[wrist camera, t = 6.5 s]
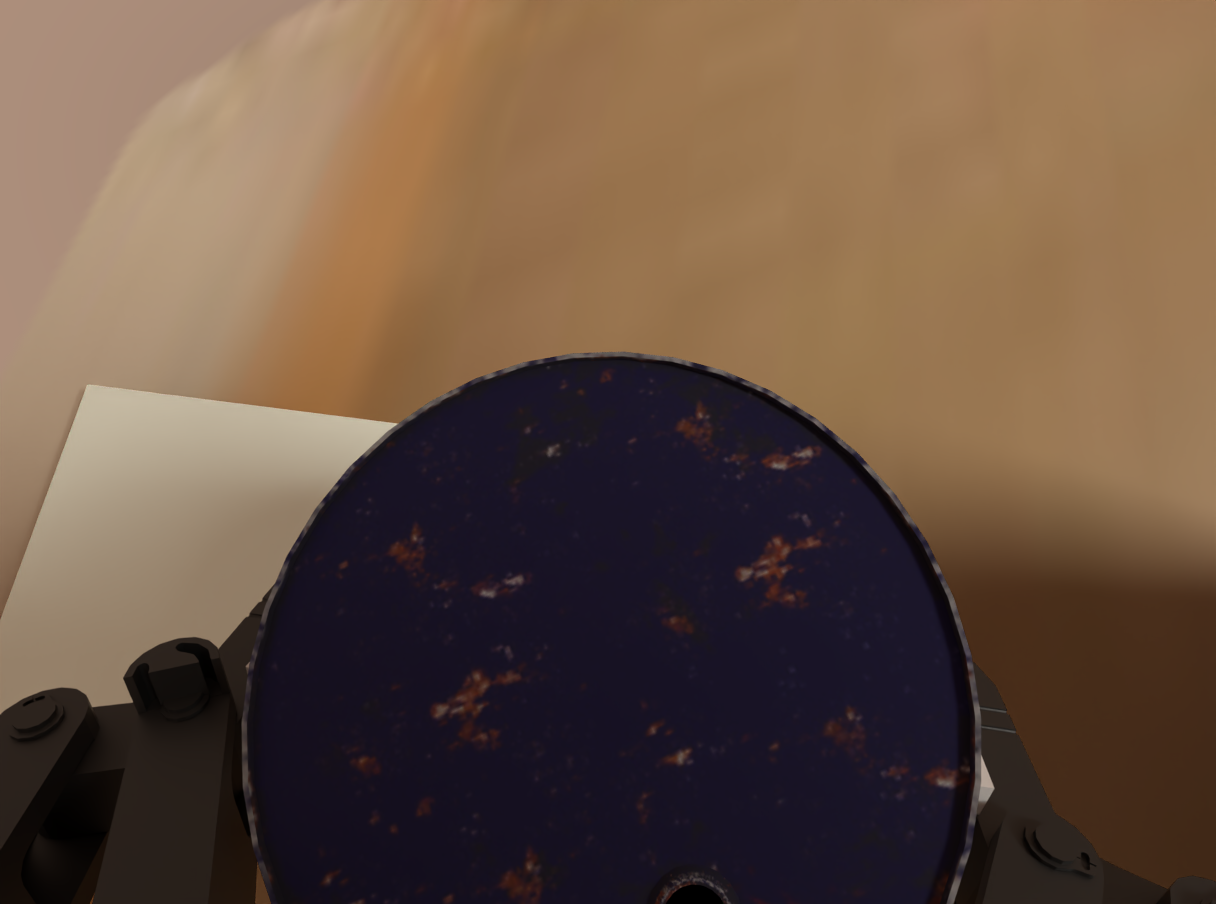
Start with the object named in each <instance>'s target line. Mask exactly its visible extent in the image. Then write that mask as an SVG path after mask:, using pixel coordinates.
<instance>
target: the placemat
mask: <svg viewBox="0 0 1216 904" xmlns="http://www.w3.org/2000/svg"><path fill="white" fill-rule="evenodd" d="M396 425H397V424H396V423H388V422H380V421H373V420H365V419H357V418H349V417H341V416H333V415H325V414H318V413H310V412H302V411H294V410H286V409H278V408H270V407H263V406H255V405H247V404H239V403H231V402H223V401H215V400H207V399H200V398H192V397H184V396H176V395H168V394H160V393H152V392H145V391H137V390H129V389H121V388H113V387H105V386H97V385H89V384H87V387H86V390H85V392H84V395H83V398H82V401H81V403H80V406H79V409H78V411H77V414H76V417H75V419H74V422H73V425H72V427H71V430H70V433H69V436H68V438H67V441H66V444H65V446H64V449H63V452H62V454H61V457H60V460H59V463H58V465H57V468H56V471H55V473H54V476H53V479H52V481H51V484H50V487H49V490H48V492H47V495H46V498H45V500H44V503H43V506H42V508H41V511H40V514H39V516H38V519H37V522H36V525H35V527H34V530H33V533H32V535H31V538H30V541H29V543H28V546H27V549H26V552H25V554H24V557H23V560H22V562H21V565H20V568H19V570H18V573H17V576H16V579H15V581H14V584H13V587H12V589H11V592H10V595H9V597H8V600H7V603H6V606H5V608H4V611H3V614H2V616H1V619H0V714H1V713H2V712H3V711H4V710H6V709H7V708H9V707H11V706H12V705H14V704H15V703H17V702H18V701H20V700H22V699H23V698H26V697H28V696H31V695H33V694H36V693H38V692H41V691H44V690H50V689H55V688H60V687H63V688H74V689H78V690H79V691H81V692H83V693H84V694H86V695H87V697H88V699H89V702H90V704H91V706H92V707H98V706H107V705H115V704H124V703H133V701H132V698H131V696H130V694H129V691H128V689H127V687H126V684H125V682H124V680H123V677H124V675H125V673H126V672H127V670H128V668H129V666H130V665H131V664H132V663H133V662H134V661H135V660H136V659H137V658H139V657H140V656H141V655H142V654H143V653H145V652H146V651H148V650H150V649H152V648H154V647H155V646H157V645H159V644H161V643H165V642H168V641H171V640H174V639H177V638H188V637H198V638H202V639H206V640H209V641H211V642H212V643H213V644H214V645H215V646H216V647H217V648H218V649H219V647H220V646H221V645H222V644H223V643H224V642H225V641H226V639H227V638H228V637H229V636H230V635H231V634H232V632H233V631H234V630H235V629H236V628H237V627H238V625H239V624H240V623H241V622H242V621H243V620H244V619H245V617H248V616H249V613H250V612H251V610H252V609H253V608H254V607H255V606H256V605H257V604H258V602H261V601H262V598H263V597H264V595H265V594H266V593H267V592H268V591H269V590H270V588H271V587H272V586H273V585H274V584H275V582H276V580H277V578H278V575H279V573H280V571H281V568H282V566H283V564H284V561H285V559H286V557H287V555H288V553H289V551H290V550H291V548H292V546H293V545H294V543H295V541H296V540H297V538H298V537H299V535H300V533H301V532H302V530H303V528H304V527H305V525H306V523H307V522H308V520H309V518H310V517H311V515H312V513H313V512H314V510H315V508H316V507H317V506H318V505H319V503H320V502H321V501H322V500H323V499H324V497H325V496H326V495H327V494H328V492H329V491H330V490H331V489H332V487H333V486H334V485H335V484H336V483H337V481H338V480H339V479H340V478H341V476H342V475H343V474H344V473H345V471H346V470H347V469H348V468H349V467H350V466H351V465H352V464H353V463H354V462H355V461H356V460H357V459H358V458H359V457H360V456H361V455H363V454H364V453H365V452H366V451H367V450H368V449H369V448H370V447H371V446H372V445H373V444H374V443H375V442H377V441H378V440H379V439H380V438H381V437H382V436H383V435H384V434H385V433H386V432H387V431H388V430H390V429H391V428H393V427H394V426H396Z"/></svg>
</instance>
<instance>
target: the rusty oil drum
mask: <svg viewBox="0 0 1216 904" xmlns="http://www.w3.org/2000/svg"><path fill="white" fill-rule="evenodd" d="M242 772H243V791H244V797H245V803H246V809H247V815H248V820H249V826H250V832H251V838H252V844H253V849H254V852H255V856H256V859H257V862H258V865H259V868H260V871H261V874H262V877H263V880H264V883H265V886H266V889H267V892H268V895H269V898H270V901H271V904H953V903H954V900H955V897H956V894H957V891H958V888H959V885H960V881H961V878H962V875H963V872H964V869H965V866H966V863H967V860H968V856H969V853H970V850H971V847H972V840H973V833H974V827H975V820H976V814H977V807H978V801H979V794H980V787H981V714H980V707H979V701H978V694H977V688H976V681H975V675H974V668H973V662H972V656H971V652H970V649H969V646H968V642H967V639H966V636H965V633H964V629H963V626H962V623H961V620H960V617H959V613H958V610H957V607H956V604H955V600H954V597H953V595H952V593H951V591H950V589H949V586H948V584H947V582H946V580H945V578H944V576H943V574H942V572H941V570H940V568H939V566H938V563H937V561H936V559H935V557H934V555H933V553H932V551H931V549H930V547H929V545H928V543H927V541H926V540H925V538H924V537H923V535H922V534H921V532H920V531H919V529H918V528H917V526H916V525H915V523H914V522H913V520H912V519H911V517H910V516H909V514H908V513H907V511H906V510H905V508H904V507H903V505H902V504H901V502H900V501H899V499H898V498H897V496H896V495H895V494H894V493H893V491H892V490H891V489H890V488H889V487H888V486H887V485H886V484H885V483H884V482H883V480H882V479H881V478H880V477H879V476H878V475H877V474H876V473H875V472H874V470H873V469H872V468H871V467H870V466H869V465H868V464H867V463H866V462H865V461H864V459H863V458H862V457H861V456H860V455H859V454H858V453H857V452H856V451H855V450H854V449H852V448H851V447H850V446H849V445H847V444H846V443H845V442H844V441H843V440H841V439H840V438H839V437H838V436H837V435H835V434H834V433H833V432H832V431H831V430H829V429H828V428H827V427H826V426H825V425H823V424H822V423H821V422H820V421H818V420H817V419H816V418H815V417H813V416H811V415H810V414H808V413H806V412H805V411H803V410H801V409H800V408H798V407H796V406H795V405H793V404H792V403H790V402H788V401H787V400H785V399H783V398H782V397H780V396H778V395H777V394H775V393H773V392H772V391H770V390H768V389H765V388H763V387H761V386H758V385H756V384H754V383H751V382H749V381H747V380H744V379H742V378H740V377H737V376H735V375H732V374H730V373H728V372H725V371H723V370H720V369H716V368H712V367H708V366H704V365H701V364H697V363H693V362H689V361H685V360H682V359H678V358H674V357H666V356H657V355H648V354H639V353H630V352H600V353H573V354H567V355H562V356H556V357H551V358H545V359H539V360H534V361H528V362H523V363H520V364H517V365H514V366H511V367H508V368H505V369H502V370H499V371H496V372H493V373H490V374H487V375H484V376H481V377H478V378H476V379H474V380H472V381H470V382H468V383H466V384H464V385H462V386H460V387H458V388H456V389H454V390H452V391H450V392H448V393H446V394H444V395H442V396H440V397H438V398H436V399H434V400H432V401H430V402H429V403H427V404H426V405H424V406H423V407H421V408H420V409H419V410H417V411H416V412H414V413H413V414H411V415H410V416H409V417H407V418H406V419H404V420H403V421H401V422H400V423H398V424H397V425H396V426H394V427H393V428H391V429H390V430H388V431H387V432H386V433H385V434H384V435H383V436H382V437H381V438H380V439H379V440H378V441H377V442H375V443H374V444H373V445H372V446H371V447H370V448H369V449H368V450H367V451H366V452H365V453H364V454H363V455H361V456H360V457H359V458H358V459H357V460H356V461H355V462H354V463H353V464H352V465H351V466H350V467H349V468H348V469H347V470H346V471H345V473H344V474H343V475H342V476H341V478H340V479H339V480H338V481H337V483H336V484H335V485H334V486H333V487H332V489H331V490H330V491H329V492H328V494H327V495H326V496H325V497H324V499H323V500H322V501H321V502H320V503H319V505H318V506H317V507H316V508H315V510H314V512H313V513H312V515H311V517H310V518H309V520H308V522H307V523H306V525H305V527H304V528H303V530H302V532H301V533H300V535H299V537H298V538H297V540H296V541H295V543H294V545H293V546H292V548H291V550H290V551H289V553H288V555H287V557H286V559H285V561H284V564H283V566H282V568H281V571H280V573H279V575H278V578H277V580H276V582H275V585H274V587H273V589H272V592H271V594H270V596H269V599H268V601H267V603H266V606H265V608H264V611H263V615H262V619H261V622H260V626H259V630H258V634H257V637H256V641H255V645H254V648H253V652H252V656H251V659H250V663H249V669H248V677H247V685H246V693H245V701H244V709H243V717H242Z"/></svg>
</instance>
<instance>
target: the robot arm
mask: <svg viewBox="0 0 1216 904" xmlns="http://www.w3.org/2000/svg"><path fill="white" fill-rule="evenodd" d="M274 585H275V584H274ZM274 585H273V586H272V587H271V588H270V590H269V591H268V592H267V593H266V594H265V595H264V597H263V598H262V601H261V602H258V604H257V605H256V606H255V607H254V608H253V609H252V610H251V612H250V613H249V616H248V617H245V619H244V620H243V621H242V622H241V623H240V624H239V625H238V627H237V628H236V629H235V630H234V631H233V632H232V634H231V635H230V636H229V637H228V638H227V639H226V641H225V642H224V643H223V644H222V645H221V646H220V647H219V649H218V648H217V647H216V646H215V645H214V644H213V643H212V642H211V641H209V640H206V639H202V638H198V637H188V638H177V639H174V640H171V641H168V642H165V643H161V644H159V645H157V646H155V647H154V648H152V649H150V650H148V651H146V652H145V653H143V654H142V655H141V656H140V657H139V658H137V659H136V660H135V661H134V662H133V663H132V664H131V665H130V666H129V668H128V670H127V672H126V673H125V675H124V677H123V680H124V682H125V684H126V687H127V689H128V691H129V694H130V696H131V698H132V701H133V703H124V704H115V705H107V706H98V707H92V706H91V704H90V702H89V699H88V697H87V695H86V694H84V693H83V692H81V691H79V690H78V689H74V688H63V687H60V688H55V689H50V690H44V691H41V692H38V693H36V694H33V695H31V696H28V697H26V698H23V699H22V700H20V701H18V702H17V703H15V704H14V705H12V706H11V707H9V708H7V709H6V710H4V711H3V712H2V713H1V714H0V904H90V901H91V899H92V897H93V895H94V893H95V895H94V899H93V903H92V904H255V893H256V874H257V859H256V856H255V852H254V849H253V844H252V838H251V832H250V826H249V820H248V815H247V809H246V803H245V797H244V791H243V772H242V717H243V709H244V701H245V693H246V685H247V677H248V669H249V663H250V659H251V656H252V652H253V648H254V645H255V641H256V637H257V634H258V630H259V626H260V622H261V619H262V615H263V611H264V608H265V606H266V603H267V601H268V599H269V596H270V594H271V592H272V589H273V587H274ZM973 668H974V675H975V681H976V688H977V694H978V701H979V707H980V714H981V787H980V794H979V801H978V807H977V814H976V820H975V827H974V833H973V840H972V847H971V850H970V853H969V856H968V860H967V863H966V866H965V869H964V872H963V875H962V878H961V881H960V885H959V888H958V891H957V894H956V897H955V900H954V903H953V904H1216V882H1215V881H1213V880H1209V879H1204V878H1200V877H1196V876H1188V877H1183V878H1178V879H1177V880H1176V881H1175V882H1174V883H1173V884H1172V885H1171V886H1170V888H1169V889H1166V888H1163V887H1161V886H1159V885H1157V884H1154V883H1152V882H1150V881H1148V880H1145V879H1143V878H1141V877H1139V876H1136V875H1134V874H1132V873H1130V872H1127V871H1125V870H1123V869H1121V868H1118V867H1116V866H1114V865H1112V864H1111V863H1109V862H1107V861H1105V860H1103V859H1101V858H1099V857H1098V855H1097V853H1096V851H1095V850H1094V848H1093V846H1092V844H1091V843H1090V842H1089V841H1088V840H1087V839H1086V838H1085V837H1084V836H1083V835H1082V834H1081V833H1080V832H1079V830H1078V829H1077V828H1076V827H1074V826H1073V825H1071V824H1070V823H1068V822H1067V821H1066V820H1064V819H1063V818H1061V817H1060V816H1058V815H1056V814H1055V812H1054V810H1053V808H1052V806H1051V804H1050V802H1049V800H1048V798H1047V795H1046V793H1045V791H1044V789H1043V787H1042V785H1041V783H1040V780H1039V778H1038V776H1037V774H1036V772H1035V770H1034V767H1033V765H1032V763H1031V761H1030V759H1029V757H1028V755H1027V752H1026V750H1025V748H1024V746H1023V744H1022V742H1021V739H1020V737H1019V735H1016V729H1015V726H1014V724H1013V722H1012V720H1011V718H1010V716H1009V715H1007V713H1006V711H1007V709H1006V707H1005V705H1004V703H1003V701H1002V698H1001V696H1000V694H999V692H998V690H997V688H996V686H995V684H994V683H993V682H992V681H991V680H990V679H989V678H988V677H987V676H986V675H985V674H984V672H983V671H982V670H981V669H980V668H979V667H978V666H977V665H976V664H975V663H973Z"/></svg>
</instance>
